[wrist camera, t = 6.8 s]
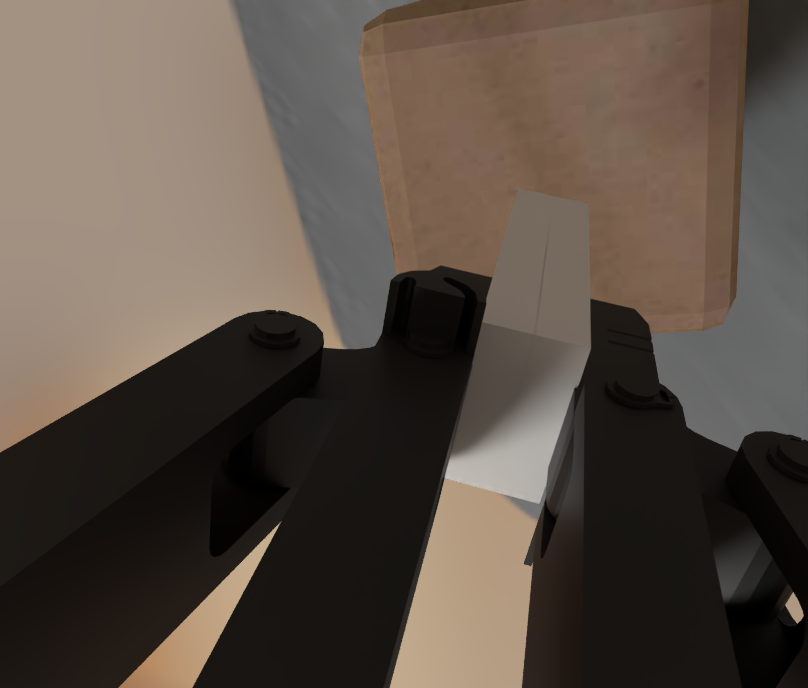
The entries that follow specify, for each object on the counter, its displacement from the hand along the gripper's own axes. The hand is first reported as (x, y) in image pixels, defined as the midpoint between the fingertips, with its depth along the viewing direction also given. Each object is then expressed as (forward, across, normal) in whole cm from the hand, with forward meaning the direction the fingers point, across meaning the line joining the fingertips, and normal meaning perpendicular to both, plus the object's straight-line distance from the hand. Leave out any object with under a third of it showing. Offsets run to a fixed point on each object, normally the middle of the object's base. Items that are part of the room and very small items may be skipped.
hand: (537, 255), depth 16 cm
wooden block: (+25, 0, 0) cm, 25 cm away
